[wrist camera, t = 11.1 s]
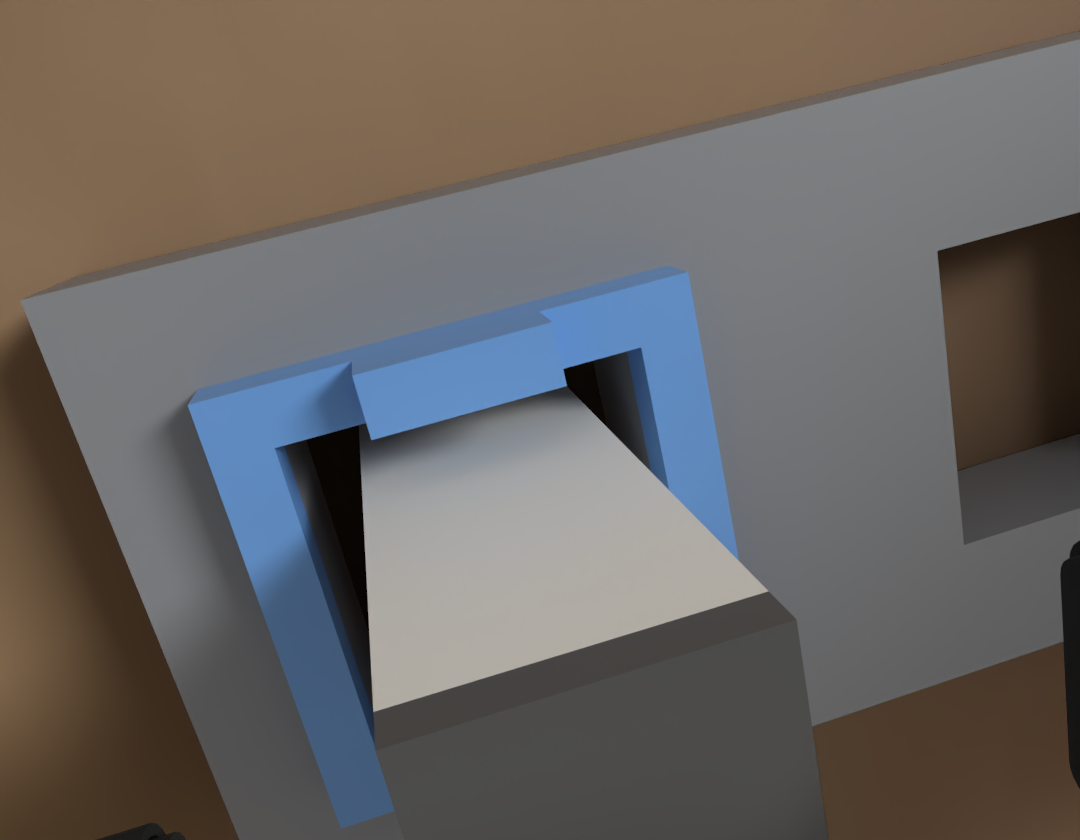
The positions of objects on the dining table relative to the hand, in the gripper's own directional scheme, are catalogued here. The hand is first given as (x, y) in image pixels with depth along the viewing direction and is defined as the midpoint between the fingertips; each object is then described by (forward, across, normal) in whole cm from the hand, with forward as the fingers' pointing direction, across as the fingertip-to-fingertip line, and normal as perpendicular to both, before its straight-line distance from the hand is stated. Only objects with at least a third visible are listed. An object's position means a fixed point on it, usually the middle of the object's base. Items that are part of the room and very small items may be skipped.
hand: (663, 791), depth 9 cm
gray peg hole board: (+11, -5, 0) cm, 12 cm away
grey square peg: (+10, +1, 0) cm, 11 cm away
